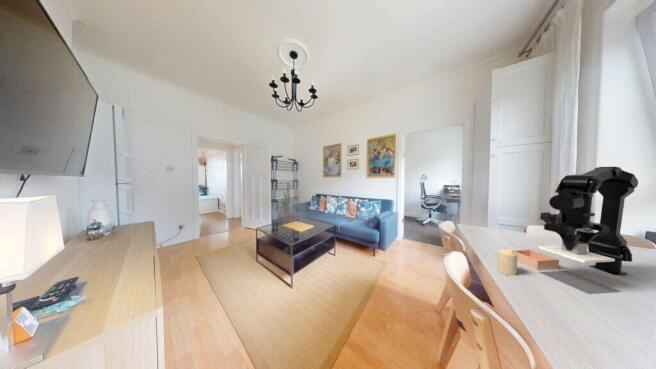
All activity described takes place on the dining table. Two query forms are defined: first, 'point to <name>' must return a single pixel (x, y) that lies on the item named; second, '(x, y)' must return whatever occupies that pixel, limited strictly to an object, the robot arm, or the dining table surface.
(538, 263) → the dish
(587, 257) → the lid
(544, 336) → the dining table surface
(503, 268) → the candle
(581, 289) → the mat
